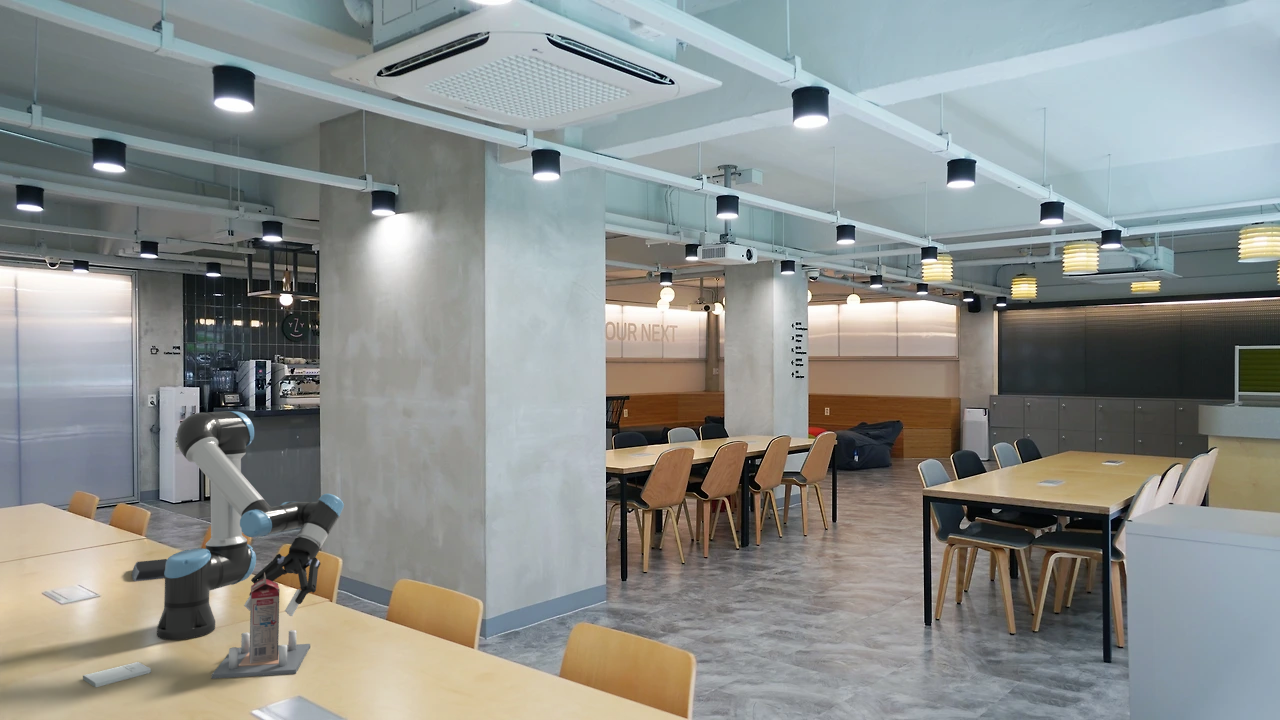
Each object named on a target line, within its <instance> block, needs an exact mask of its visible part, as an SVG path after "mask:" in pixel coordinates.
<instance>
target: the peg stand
mask: <svg viewBox="0 0 1280 720" xmlns="http://www.w3.org/2000/svg"><path fill="white" fill-rule="evenodd" d="M240 643H241V644H240V645H241V647H236V646H235V647H234V646H233V647H230V648H229V649H228V654H226V657H225V658H224V659H223V660H222V661H221V663H220V664H219V665H218V666H217V667H216V668H215V670H214V671H213V672H212V674H211V675H210V676H211V679H228V678H245V677H247V678H248V677H258V676H259V677H261V676H277V675H292V674H293V675H294V674H295V675H296V674H297V672H298V671H299V668H300V666H301V665H302V663H303V662H304V659H305V658H306V656H307V654H308V652H309V651H310V649H311V643H300V644H297V630H296V629H291V630H289V631H288V644H281V645H280V644H278V660H273V661H266V662H258V663H251V664H250V656H249V653H250V631H249V632H247V631H246V632H242V633H241V640H240Z"/></svg>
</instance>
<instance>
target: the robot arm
mask: <svg viewBox="0 0 1280 720" xmlns="http://www.w3.org/2000/svg"><path fill="white" fill-rule="evenodd" d="M254 439H255V427H254V424H253V422H252V420H251V419H250V418H249V417H248V416H247V414H245V413H243V412H241V411H230V410H227V411H212V412H198V413H193V414H191V415H188V416H186V418H184V419H183V421H182V422H181V423H180V424H179V426H178V428H177V432H176V444H177V446H178V449H179V451H180V452H181V454H182V455H183V456H184V458H185V459H186V460H187V461H188V462H190V463H194V464H195V465H196V466H197V467H198V468H199V469H200V471H201V472H202V473H203V474H204V475H205V476H206V478H207V479H208V480H209V482H210V485H209V486H210V539H208V541H207V542H206V543H205V548H203V547H202V548H199V547H198V548H192V549H185V550H182V551H179V552H175V553H174V554H172V555H170V556H169V557H168V558H166V559H167V561H166V566H165V572H164V575H165V578H164V602H163V603H164V605H163V611H162V612H161V616H160V619H159V621H158V623H157V626H156V637H157V638H159V639H161V640H165V641H167V640H168V641H174V640H175V641H179V640H187V639H194V638H199V637H202V636H205V635H208V634H210V633H212V632H213V631H215V630H216V619H215V616H214V614H213V611H212V607H211V605H210V592H211V591H213V590H217V589H220V588H224V587H227V586H231V585H232V586H234V585H236V584H238V583H240V582H243V581H245V580H247V579H248V578H249V577H250V576H251V575H252V574H253V572H254V570H255V568H256V563H257V555H256V552H255V551H254V548H253V547H252V546H251V545H250V544H248V539H247V538H246V537H248V538H257V537H259V538H260V537H265V536H267V535H272V534H275V533H280V532H284V531H285V532H286V531H289V530H294V529H298V528H300V530H299V531H298V533H297V535H296V538H294V539H293V541H292V543H291V544H290V546H289V549H288V553H287V555H286V556H284V555H282V554H281V553H277V554H276V555H275V557H274V558H273V559H272V560H271V561H270V562H269V563H268V564H267V565H266V566H264V567H262V569H261V570H260V571H259V572H257V573H256V574H255V575H254V576H252V578H251V580H250V581H251V582H252V583H253V584H255V583H257V582H258V581H260V580H262V579H264V572H265V576H266V579H268V580H271V581H274V582H275V580H277V579H279V578H280V577H281V576H283V575H287V574H294V575H298V580H299V588H297V589H296V590H295V592H294V594H293V596H292V597H291V599H290V601H289V603H288V604H287V606H286V607H285V610H284V612H285V613H286V614H287V615H288V616H290V617H293V616H294V613H295V612H296V610H297V609H298V607H299V605H301V604H302V603H303V602H304V599H305V598H306V596H307V595H308V594H309V593H315V592H316V591H317V582H318V572H319V569H320V566H321V562H320V560H319V559H318V558H317V556H318V554H319V552H320V549H321V548H322V546H323V545H324V543H325V541H326V540H327V538H328V536H329V534H331V533H330V532H331V531H332V529H333V528H334V526H335V524H336V523H337V521H338V519H339V518H340V516H341V514H342V512H343V510H344V508H345V507H344V506H345V503H344V502H343V500H341V498H340V497H338V496H337V495H335V494H332V493H324V494H322V495H321V496H320V497H319V498H318V499H317V501H310V502H309V501H295V500H294V501H285V502H282V503H281V504H280V505H274V506H271V505H270V504H269V503H268V501H266V500H265V499H264V497H263V496H262V495H261V494H260V492H258V491H257V489H256V488H255V487H254V485H252V484H251V482H250V481H249V480H248V479H247V478H246V477H245V476H244V474H243V473H242V460H241V459H242V458H243V457H244V456H245V455H246V454H247V447H248V446H250V445H251V444H252V441H254ZM245 536H246V537H245ZM307 569H309V570H308V573H307ZM307 574H308V577H307ZM245 601H246V602H245V603H244V604H243V606H244V607H245V608H246V609H247V610H248V611H249V612H250V608H251V591H250V592H249V597H248V598H247V600H245Z"/></svg>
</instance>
